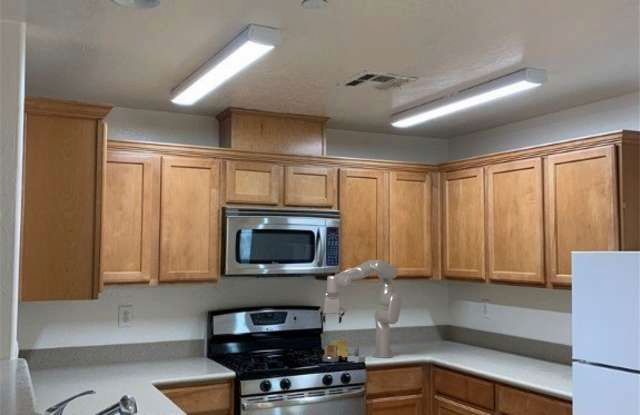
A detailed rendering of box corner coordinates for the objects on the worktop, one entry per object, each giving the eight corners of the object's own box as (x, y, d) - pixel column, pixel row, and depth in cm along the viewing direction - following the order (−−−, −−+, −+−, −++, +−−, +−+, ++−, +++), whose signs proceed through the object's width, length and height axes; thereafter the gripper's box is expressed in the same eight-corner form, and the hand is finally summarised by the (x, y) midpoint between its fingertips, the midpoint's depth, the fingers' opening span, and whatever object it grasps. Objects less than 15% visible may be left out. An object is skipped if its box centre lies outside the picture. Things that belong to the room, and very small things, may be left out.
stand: (354, 359, 392) (354, 345, 392) (365, 361, 387) (365, 346, 388) (347, 361, 385) (347, 346, 386) (358, 362, 380) (358, 347, 381)
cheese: (347, 357, 399) (348, 342, 400) (331, 357, 399) (331, 341, 400) (347, 355, 409) (347, 340, 410) (331, 354, 410) (331, 339, 411)
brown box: (325, 354, 388) (326, 345, 389) (336, 355, 387) (337, 345, 388) (324, 356, 381) (324, 346, 382) (335, 356, 380) (336, 347, 381)
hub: (328, 358, 391) (329, 346, 392) (341, 360, 385) (342, 347, 386) (319, 360, 383) (319, 347, 384) (332, 362, 377) (332, 349, 378)
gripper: (318, 295, 385) (317, 323, 384) (346, 296, 383) (345, 324, 382) (319, 294, 393) (319, 321, 391) (346, 295, 391) (346, 322, 389)
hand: (332, 323), depth 387 cm, fingers open, 9 cm apart
